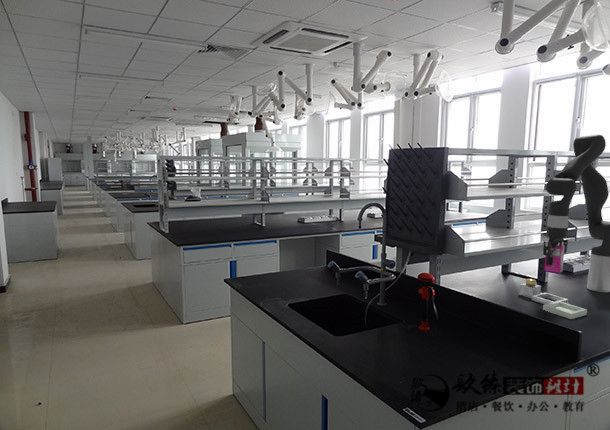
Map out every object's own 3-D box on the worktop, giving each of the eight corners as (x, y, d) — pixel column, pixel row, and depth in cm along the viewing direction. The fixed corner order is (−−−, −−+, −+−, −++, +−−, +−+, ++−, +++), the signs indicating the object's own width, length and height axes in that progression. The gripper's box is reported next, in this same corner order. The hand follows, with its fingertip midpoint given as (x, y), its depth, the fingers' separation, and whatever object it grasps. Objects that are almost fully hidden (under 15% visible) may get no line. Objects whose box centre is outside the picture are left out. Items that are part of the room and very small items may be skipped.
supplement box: (547, 269, 176) (549, 243, 175) (563, 271, 172) (565, 245, 171) (543, 271, 172) (545, 245, 171) (559, 274, 168) (562, 247, 166)
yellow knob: (528, 292, 184) (529, 278, 183) (536, 294, 181) (538, 280, 180) (522, 293, 182) (524, 279, 182) (531, 295, 179) (532, 281, 178)
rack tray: (558, 305, 169) (558, 301, 169) (586, 314, 160) (587, 309, 159) (542, 309, 164) (543, 304, 164) (571, 319, 154) (571, 314, 154)
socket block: (529, 292, 187) (530, 281, 186) (568, 303, 172) (569, 292, 171) (516, 295, 182) (517, 284, 181) (554, 307, 167) (555, 295, 167)
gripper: (558, 223, 176) (554, 260, 178) (538, 225, 169) (535, 264, 172) (576, 226, 170) (572, 264, 172) (556, 228, 163) (553, 268, 165)
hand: (553, 264), depth 172 cm, fingers closed on supplement box, 6 cm apart
